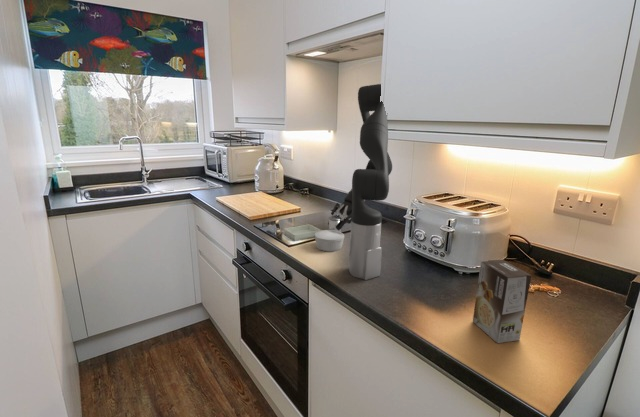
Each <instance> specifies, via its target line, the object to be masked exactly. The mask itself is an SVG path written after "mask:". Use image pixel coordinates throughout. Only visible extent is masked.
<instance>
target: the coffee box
mask: <svg viewBox="0 0 640 417" xmlns="http://www.w3.org/2000/svg"><path fill="white" fill-rule="evenodd" d="M479 266H480V267H479V273H478V280H477V288H476V296H475V301H474V302H475V303H474V311H473V316H472V322H473V323H474V324H475V326H477V327H479V328H480V329H481V330H482V331H483V332H484V333H485V334H486V335H488V336H489V338H491V339H492V340H493V341H494V342H495V343H497V344H502V343H509V342H514V341H520V340H521V335H522V334H521V333H522V328H523V324H524V323H523V322H524V318H525V312H526V306H527V303H528V302H527V301H528V297H529V296H528V295H529V290H530V285H531V280H532V274H530V273H528V272H526V271H524V270H523V269H521V268H519V267H517V266H515V265H514V264H512V263H510V262H508V261H507V260H504V259H490V260H486V261H480V265H479Z"/></svg>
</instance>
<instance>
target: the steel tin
mask: <svg viewBox="0 0 640 417" xmlns="http://www.w3.org/2000/svg"><path fill="white" fill-rule="evenodd" d="M340 220H341V221H342V217H339V216H338V215H337V216H332V215H331V216H329V217H328V222H329V225H328V230H334V231H338V232H341V233H342V228H341V229H340V230H337V229H336V226H337V224H338V223H339V222H340Z"/></svg>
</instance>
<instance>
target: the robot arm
mask: <svg viewBox="0 0 640 417" xmlns="http://www.w3.org/2000/svg"><path fill="white" fill-rule="evenodd" d="M381 84H382V83H377V84H370V85H363V86H360V87H359V88H358V90H357V91H358V92H357V102H358V108H359V112H360V116H361V119H362V122H363V123H362V124H361V127H360V131H359V133H360V134H359V146H360V148H361V151H362V152H363V153H364V155H365V156H366V157H367V158H368V159H369V160H368V162H367V164H366V167H365V168H358V169H355V170H354V171H353V173H352V177H351V178H352V180H351V189H349V190H350V191H348V193H347V194H346V195H345V197H344V198H343V199H344V201H343V202H342V203H341V204H339V202H337V203H336V204H335V205H334V207H333V209H332V211H331V212H330V214H331V216H339V217H341V218H342V219H341V220H340V222H339V223H338V224H337V226H336V229H337V230H340V229H341V230H342V228H343V227H344V226H345V225H346V224H348V225H349V224H350V243H349V266H348V267H349V268H348V271H349V272H348V273H349V274H350V276H353V277H354V278H357V279H362V280H364V281H367V280H370V279H371V280H372V279H373V278H377V277H380V276H381V271H382V270H381V269H382V268H381V267H382V253H383V252H382V251H383V247H381V232H382V222H383V221H382V220H383V215H382V213H381V211H379V210H377V209H374V208H372V207H370V206H368V205H366V203H365V201H375V202H376V201H384V200H386V199H387V198H388V195H389V192H390V191H389V190H390V177H389V176H390V174H391V173H392V170H393V163H392V159H391V157H390V154H389V152H388V147H389V145H388V144H389V129H388V128H389V127H388V126H389V125H388V114H387V115H386V111H385V107H384V104H383V102H382V101H381V102H380V96H381ZM370 112H372V113H370ZM327 225H328V226H329V221H328V223H327Z"/></svg>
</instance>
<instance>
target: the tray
mask: <svg viewBox="0 0 640 417" xmlns="http://www.w3.org/2000/svg"><path fill="white" fill-rule="evenodd" d="M318 231H322V229H320V228H318V227H316V226H313V225H312V224H310V223H308V224H303V225H298V226H291V227H285V228H283V235H284V236H285V237H288V238H289V239H291V240H292V241H293V242H298V241H303V240H308V239H313V238H315V233H316V232H318Z"/></svg>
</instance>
